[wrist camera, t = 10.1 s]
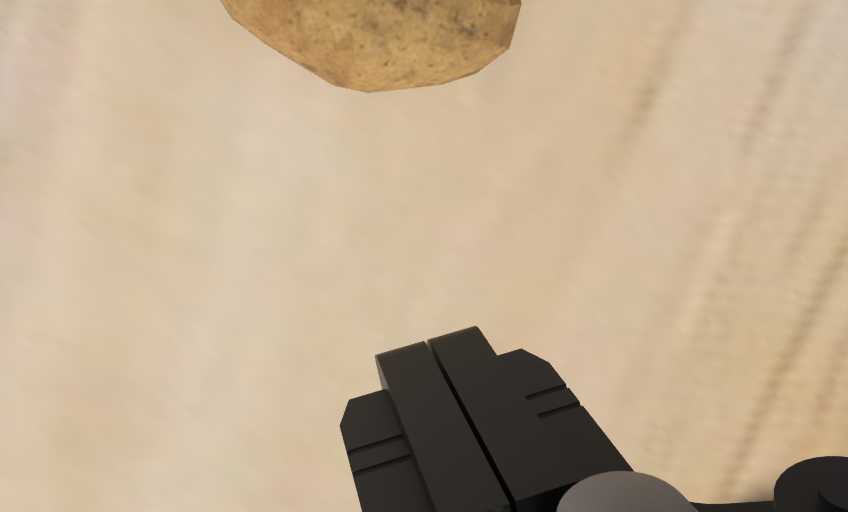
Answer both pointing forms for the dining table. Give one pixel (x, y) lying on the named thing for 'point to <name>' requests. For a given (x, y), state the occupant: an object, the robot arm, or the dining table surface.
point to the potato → (382, 38)
